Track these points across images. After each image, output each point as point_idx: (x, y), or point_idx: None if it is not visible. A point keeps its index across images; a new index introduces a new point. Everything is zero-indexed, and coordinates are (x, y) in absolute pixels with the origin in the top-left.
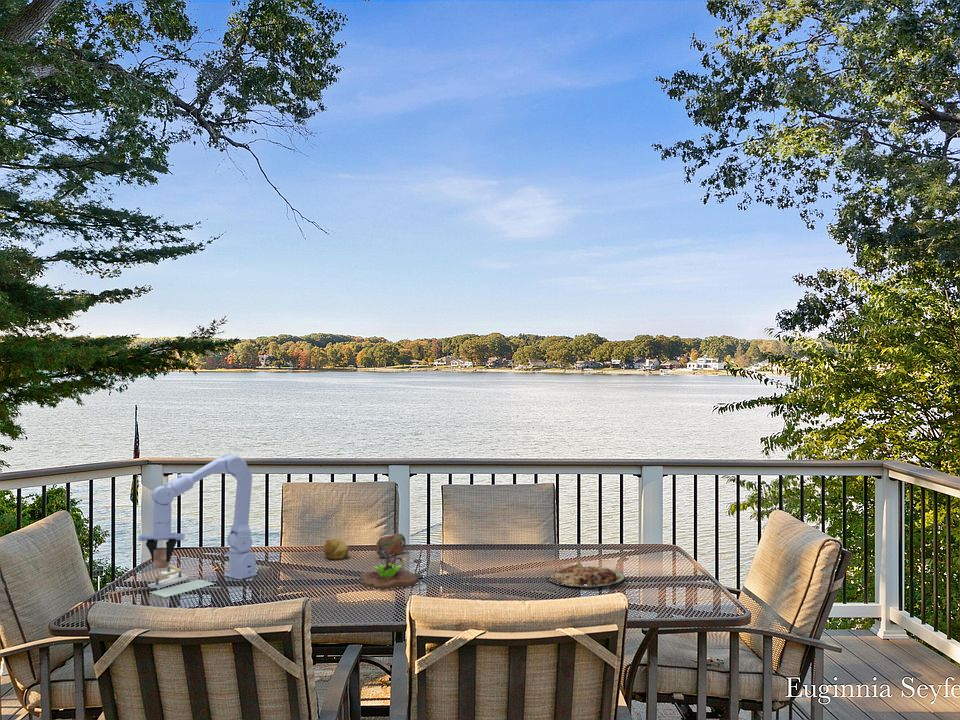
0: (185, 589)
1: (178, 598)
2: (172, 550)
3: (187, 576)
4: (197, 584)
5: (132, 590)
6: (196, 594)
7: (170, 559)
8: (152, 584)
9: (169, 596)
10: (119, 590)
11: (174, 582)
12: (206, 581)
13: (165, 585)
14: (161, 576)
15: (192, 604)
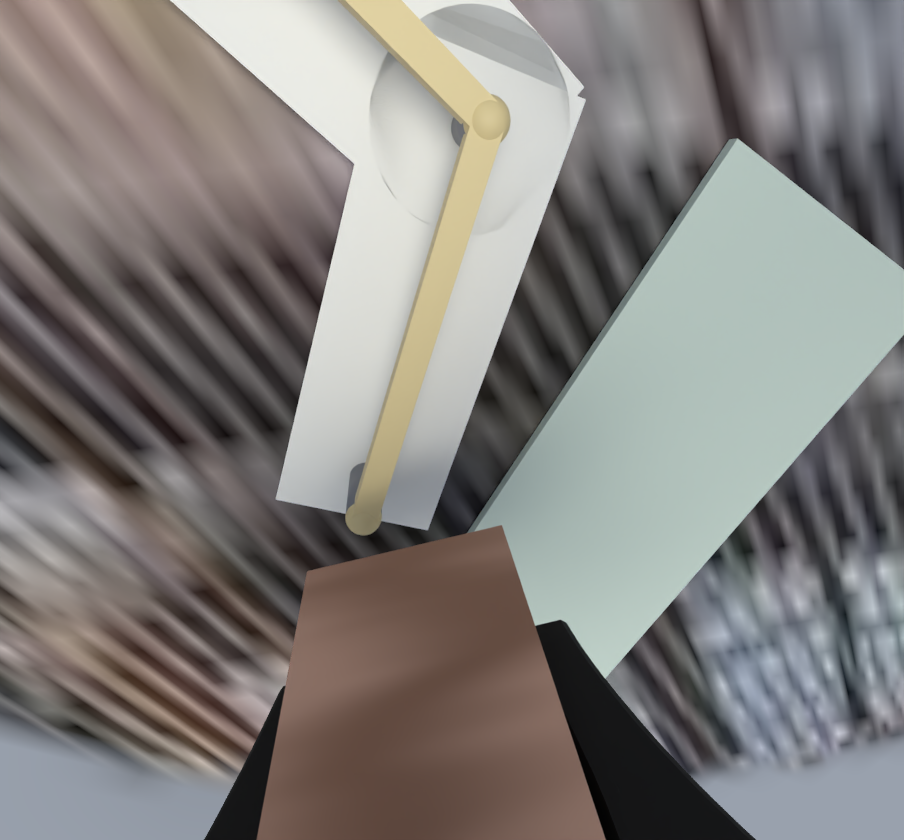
0: (687, 513)
1: (688, 664)
2: (687, 800)
3: (566, 87)
4: (758, 352)
5: (193, 574)
6: (796, 571)
7: (575, 641)
8: (319, 487)
9: (616, 660)
10: (66, 594)
11: (493, 337)
12: (833, 226)
13: (452, 453)
14: (391, 477)
15: (810, 730)
